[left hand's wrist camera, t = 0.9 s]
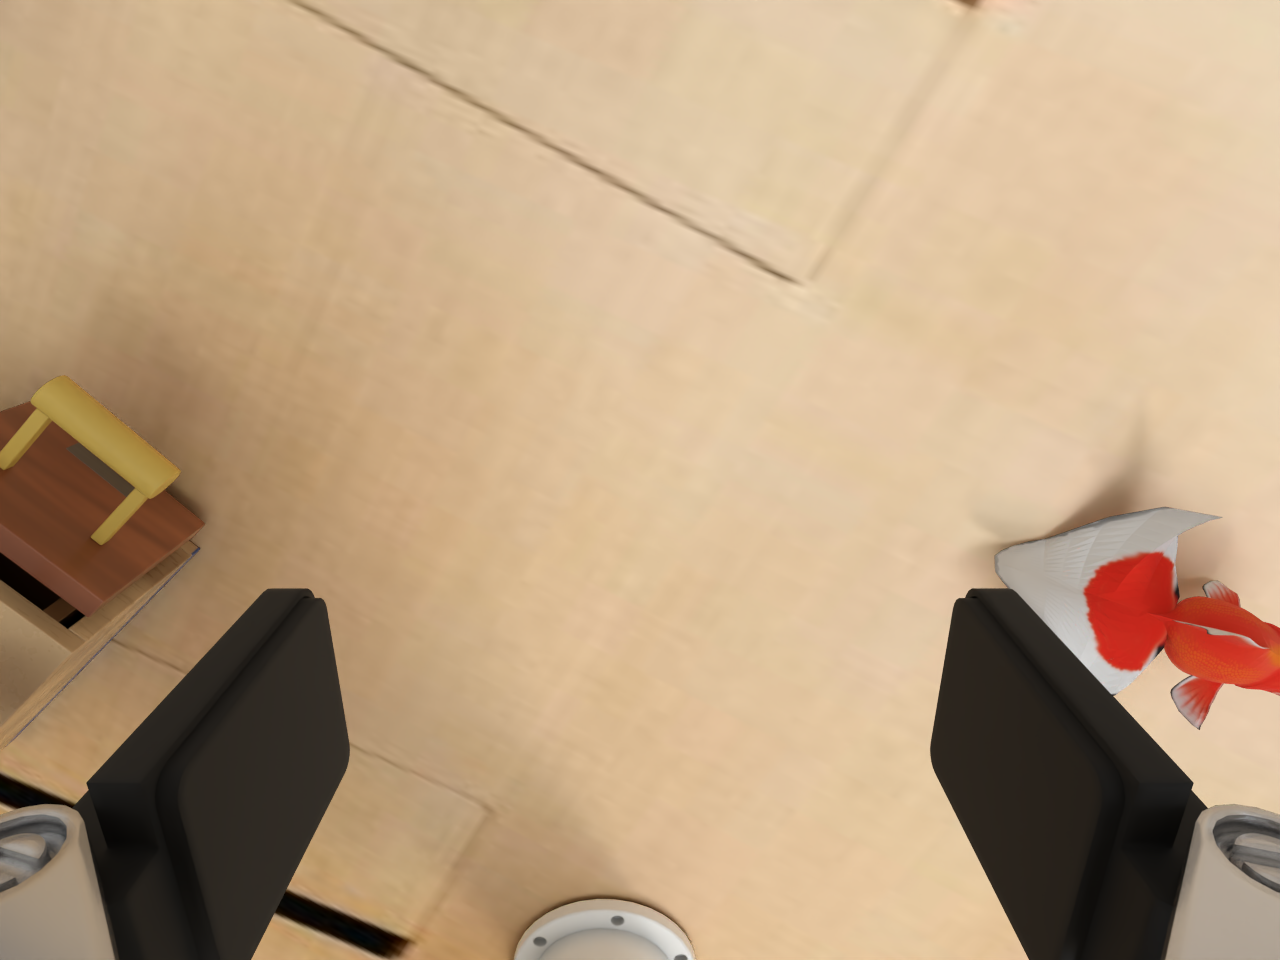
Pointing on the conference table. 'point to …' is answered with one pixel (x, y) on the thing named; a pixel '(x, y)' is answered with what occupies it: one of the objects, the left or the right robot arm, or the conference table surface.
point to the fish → (1142, 608)
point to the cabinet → (62, 643)
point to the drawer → (81, 503)
